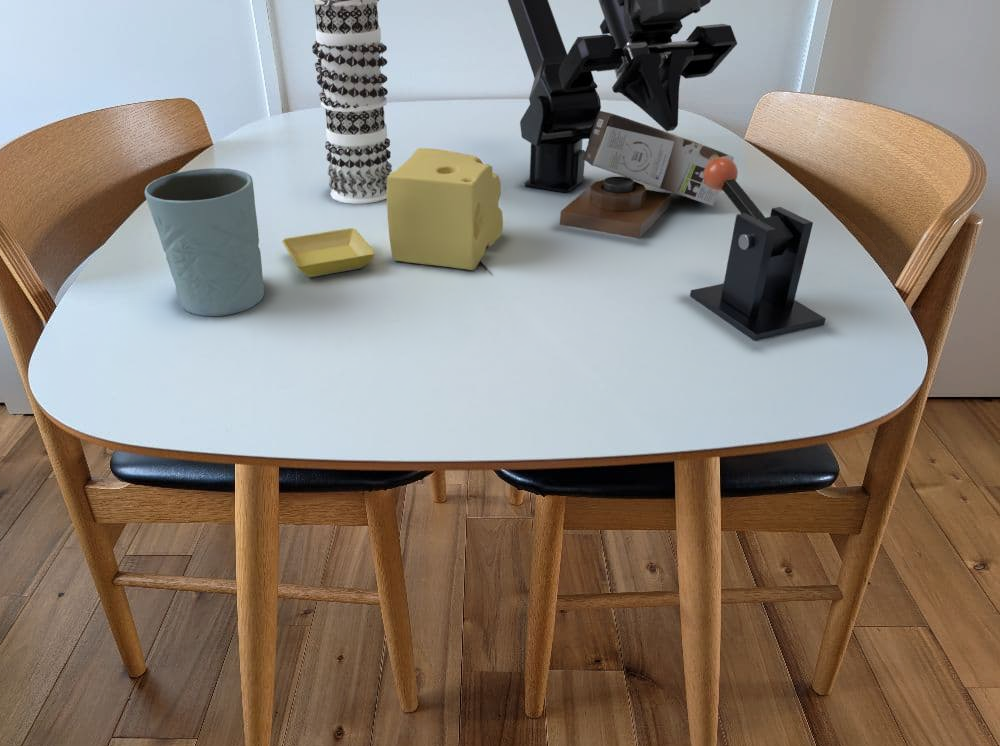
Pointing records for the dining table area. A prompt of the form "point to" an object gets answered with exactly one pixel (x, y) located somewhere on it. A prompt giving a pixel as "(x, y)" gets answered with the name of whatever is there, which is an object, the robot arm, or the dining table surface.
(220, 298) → the grey green cup
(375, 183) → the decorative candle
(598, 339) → the dining table surface
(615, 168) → the coffee box
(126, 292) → the dining table surface
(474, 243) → the cheese
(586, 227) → the button block
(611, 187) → the button
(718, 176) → the lever
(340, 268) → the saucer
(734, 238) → the bracket
